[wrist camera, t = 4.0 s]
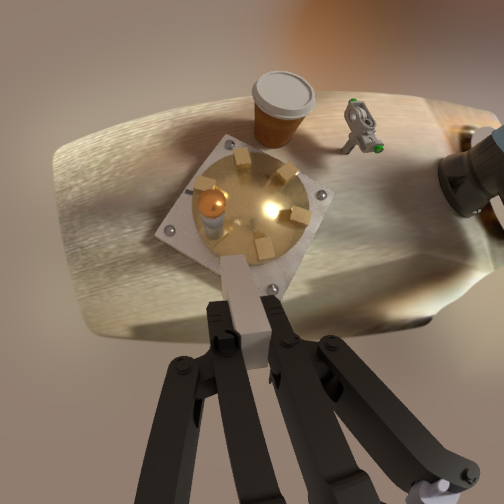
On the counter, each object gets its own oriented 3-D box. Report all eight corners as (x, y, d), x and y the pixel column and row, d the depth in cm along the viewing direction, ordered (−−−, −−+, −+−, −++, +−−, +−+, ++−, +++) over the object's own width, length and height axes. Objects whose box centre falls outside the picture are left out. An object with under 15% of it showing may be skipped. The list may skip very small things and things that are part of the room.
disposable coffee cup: (234, 137, 45) (239, 90, 33) (265, 107, 47) (275, 61, 35) (280, 166, 45) (298, 123, 33) (307, 132, 47) (328, 90, 35)
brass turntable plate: (319, 195, 41) (359, 148, 28) (272, 286, 38) (300, 274, 24) (230, 146, 41) (235, 84, 28) (172, 229, 38) (148, 188, 24)
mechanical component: (349, 176, 46) (375, 148, 36) (328, 130, 48) (347, 97, 38) (362, 174, 46) (389, 147, 37) (341, 129, 48) (361, 97, 38)
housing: (329, 198, 44) (335, 191, 42) (274, 306, 40) (277, 306, 37) (225, 141, 45) (226, 132, 42) (157, 239, 40) (153, 234, 37)
